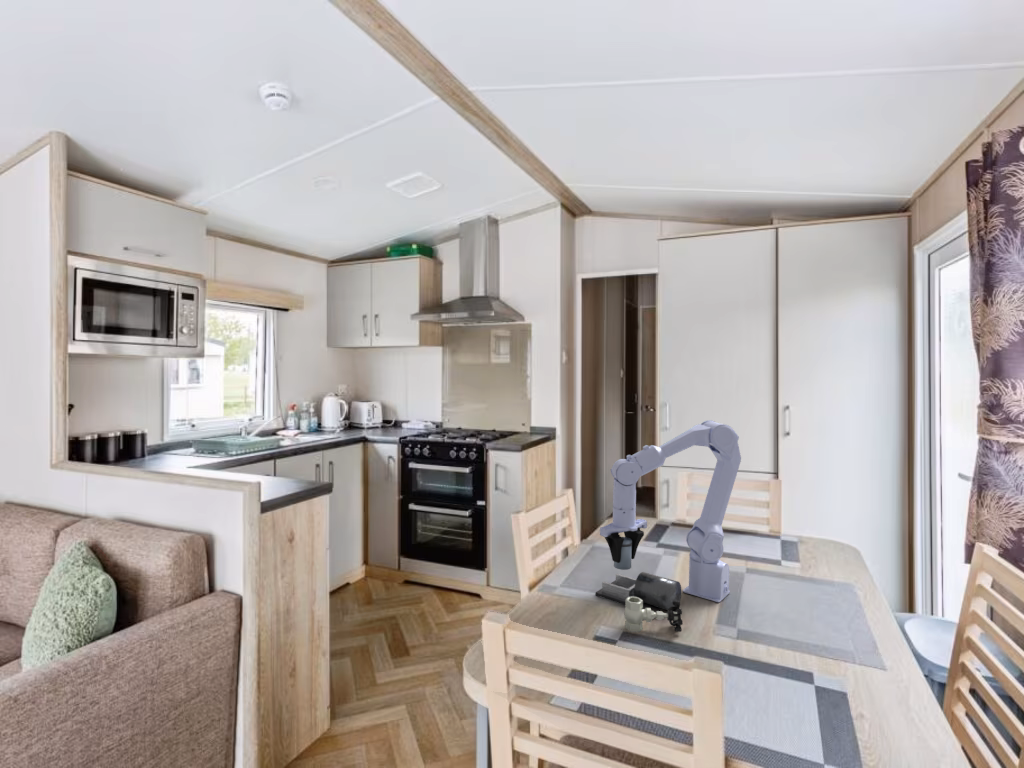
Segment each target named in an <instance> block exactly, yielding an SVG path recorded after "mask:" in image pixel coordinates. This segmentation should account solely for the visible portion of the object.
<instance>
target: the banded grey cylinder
mask: <svg viewBox="0 0 1024 768" xmlns="http://www.w3.org/2000/svg"><path fill="white" fill-rule="evenodd" d="M622 537H623V538H625V539H624V541H623V544H622V549H621V560H620V563H617V562H615V561H613V567H614V568H615V569H617V570H621V571H623V570H624V571H626V570H630V569H632V559H631V558H632V540H631V539H630V538H627V537H625V536H622Z"/></svg>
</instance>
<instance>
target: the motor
mask: <svg viewBox="0 0 1024 768" xmlns="http://www.w3.org/2000/svg"><path fill="white" fill-rule="evenodd" d="M682 592H683V589H682V585H681V583H680V581H678V580H674V579H670V578H666V577H663V576H659V575H656V574H652V573H648V572H645V571H642V572H640V573H639V574H638V575H637V577H636V578H634V577H631V576H627V575H624V574H620V573H616V574H615V580H613V581H612V582H607V581H602V583H601V588H600V589H598V590H597V591H596V592H595V596H597V597H599V598H602V599H606V600H609V601H612V602H615V603H618V604H620V605H623V606H625V602H626V599H627V598H628V597H638V598H640V599H642V600H643V604H646V605H649V606H654V607H657V608H659V609H662V610H666V611H668V610H669V608H670V607H674V606H675V605H673V601H679V602H680V603H681V599H682ZM671 611H672V610H671Z"/></svg>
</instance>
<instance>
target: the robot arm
mask: <svg viewBox="0 0 1024 768" xmlns="http://www.w3.org/2000/svg"><path fill="white" fill-rule="evenodd" d="M739 439H740V437H739V435H738V434H737V433H736V431H735V430H734V428H733V427H732V426H730V425H729V424H725V423H721V422H716V421H715V420H712V419H709V420H704V421H702V423H698V424H696V425H693V426H692V427H690V428H689V429H687V430H685V431H684V432H682V433H680V434H678V435H677V436H675V437H673V438H671V439H670V440H668V441H666V442H665V443H663V444H661V445H660V446H657V445H653V444H651V445H647V444H645V445H644V446H642V449H641V450H639V451H638V452H635V453H634V454H632V455H631V454H627V455H626V458H619V459H618V460H616V461H615V462H613V464H612V467H611V469H610V473H611V476H612V477H613V488H612V522H610V523H609V524H606V525H604V526H602V527H601V526H600V527H599V535H600V536H601V537H604V539H605V540H606V543H607V545H608V548H609V551H610V555H611V558H612V559H611V560H612V562H614V561H615V562H617V563H620V560H621V549H622V544H623V541H624V539H625V538H623V537H627V538H630V539H631V540H632V558H631V560H634V559H635V557H636V553H637V550H638V547H639V544H640V543H641V540H642V539H643V537H644V536H645V531H643V530H642V529H647V528H648V521H647V520H646V519H643V518H640V519H638V518H637V519H636V517H637V516H636V515H637V514H636V513H637V511H636V509H637V506H636V505H637V504H636V503H637V482H638V480H640V477H642V476H644V475H646V474H648V473H650V472H653V471H654V470H656V469H659V468H660V467H662V466H663V465H664V464H665V460H666V459H667V458H669V457H671V456H673V455H676V454H678V453H680V452H683V451H685V450H687V449H690V448H692V447H694V446H696V447H697V446H698V447H708V448H709V449H710V450H711V452H712V453H713V455H714V457H715V458H716V460H717V461H716V464H715V467H714V470H713V473H712V477H711V480H710V484H709V487H708V490H707V492H706V493H707V494H706V497H705V500H704V504H703V506H702V511H701V514H700V517H699V518H698V519H696V520H695V521H694V523H693V526H692V528H691V529H690V530H688V532H687V535H686V544H687V546H688V547H689V548H690V551H689V555H688V556H689V557H688V558H689V559H688V562H689V563H688V565H689V567H688V585H687V586H686V587H685V588H683V589H682V592H683V593H685V594H689V595H692V596H695V597H699V598H702V599H704V600H705V599H706V600H709V601H713V602H716V603H721V602H722V601H723V600H724V599H725V598H726V597H727V596H728V595H729V594H730V593H731V591H730V566H729V563H726V562H724V561H722V560H721V558H722V556H723V554H724V545H723V544H724V538H725V535H724V530H723V527H722V524H723V521H724V518H725V515H726V511H727V508H728V505H729V501H730V498H731V496H732V492H733V489H734V485H735V481H736V478H737V475H738V471H739V468H740V464H741V462H742V461H741V460H742V456H741V450H740V447H739V442H738V441H739ZM620 533H623V534H624V536H621V535H620Z"/></svg>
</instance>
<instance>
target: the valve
mask: <svg viewBox="0 0 1024 768" xmlns="http://www.w3.org/2000/svg"><path fill="white" fill-rule="evenodd" d="M673 605H675V606H674V607H670V608H669V610H666V612H663V611H662V610H660V611H659V610H656V611H654V610H652V609H651V607H645V608H644V603H643V600H642V599H640V598H638V597H628V598H627V599H626V602H625V605H624V606H625V609H624V615H623V616H624V618H625V623H624V628H625V629H626V630H627V631H629V632H632V633H639V632H641V631H642V629H643V621H645V622H646V623H652V620H654V619H656V620H661V621H662V620H664V619H667V621H668V622H669V624H670V625H671V626H672V627H673V630H674V631H675V632H677V633H681V632H682V631H683V630H682V626H683V625H684V624H683V619H682V613H683V611H682V608H681V607H680V606H681V601H680V602H679V601H673ZM671 610H672V611H671Z"/></svg>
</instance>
